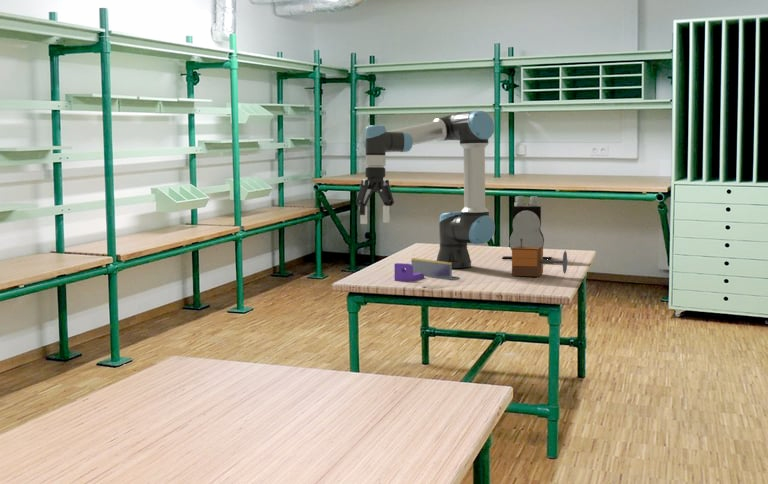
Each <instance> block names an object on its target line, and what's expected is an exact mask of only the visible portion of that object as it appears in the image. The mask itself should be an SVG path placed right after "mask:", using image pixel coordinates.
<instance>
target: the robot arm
mask: <svg viewBox="0 0 768 484" xmlns="http://www.w3.org/2000/svg"><path fill="white" fill-rule="evenodd" d="M494 131H495V123H494V120H493V118H492V116H491V115H490V114H489V113H488V112H486V111H484V110H470V111H469V110H467V111H459V112H458V111H457V112H455V113H450V114H447V115H445V116H441V117H438V118H434V120H433V121H430V122H426V123H425V122H424V123H421V124H416V125H410V126H407V127H402V128H396V129H392V130H386V126H385V125H380V124H379V125H377V124H373V125H367V126H366V128H365V137H364V141H363V146H364V149H365V166H366V167H365V172H364V174H365V178H366V179H362V180H361V183H360V187H359V188H360V189H359V190H358V194H357V198H356V200H355V205H356V206H357V207H359V215H360V216H359V217H360V218H359V219H360V222H359V224H360V225H368V206H366V205H367V204H368V202H369V200H370V198H371V196H372V195H373V193H374V192H376V193H378V196H379V197H380V198H381V201H382V203H383V205H382V223H383V224H384V223H385V224H390V221H391V218H390V215H391V214H390V213H391V206H393V205H394V204H395V201H394V197H393V194H392V190H391V187H390V181H389V179H384V178H385V177H386V168H385V167H386V166H387V165H386V163H387V162H386V153H395V152H397V153H407V152H410V151H411V150H412V148H413V146H414V145H420V144H423V143H429V142H433V141H437V142H444V141H459V145H460V146H461V148H462V149H463V204H464V205H463V208H462V209H461V210H460V211H451V212H443V213H441V214H440V215H439V222H438V225H439V228H438V229H439V230H438V231H439V250H438V253H437V257H436V259H435V261H443V262H451V263H452V269H462V268H464V269H465V268H470V267H472V259H471V258H470V254H469V253H470V252H469V250H468V244H472V245H483V244H487V243H488V242H489V241H490V240H491V239H492V238H493V236H494V233H495V231H496V225H495V220H493V218H492V217H490V210H489V209H487V207H486V170H485V169H486V147H487V146H489V139H490V138H491V137H492V136H493V134H494Z"/></svg>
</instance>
